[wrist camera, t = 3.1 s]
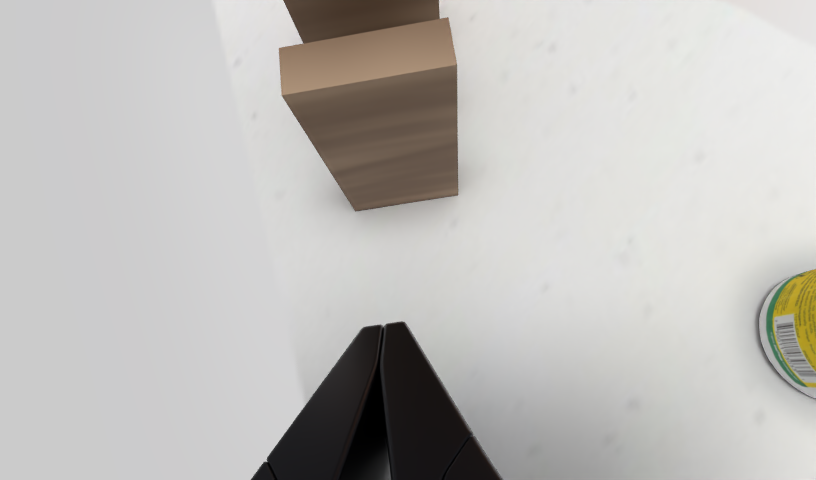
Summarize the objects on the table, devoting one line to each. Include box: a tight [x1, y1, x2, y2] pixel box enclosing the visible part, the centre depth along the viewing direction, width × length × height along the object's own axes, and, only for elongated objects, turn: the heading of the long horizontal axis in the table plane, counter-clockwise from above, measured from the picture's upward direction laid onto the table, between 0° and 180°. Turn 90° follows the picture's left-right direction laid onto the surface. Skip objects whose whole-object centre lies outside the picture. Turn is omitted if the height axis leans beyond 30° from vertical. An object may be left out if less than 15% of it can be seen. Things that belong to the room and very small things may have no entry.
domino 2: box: [279, 17, 458, 211], centre depth 18 cm, size 2×5×10 cm, turn 97°
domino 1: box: [283, 0, 440, 43], centre depth 19 cm, size 2×5×10 cm, turn 97°
